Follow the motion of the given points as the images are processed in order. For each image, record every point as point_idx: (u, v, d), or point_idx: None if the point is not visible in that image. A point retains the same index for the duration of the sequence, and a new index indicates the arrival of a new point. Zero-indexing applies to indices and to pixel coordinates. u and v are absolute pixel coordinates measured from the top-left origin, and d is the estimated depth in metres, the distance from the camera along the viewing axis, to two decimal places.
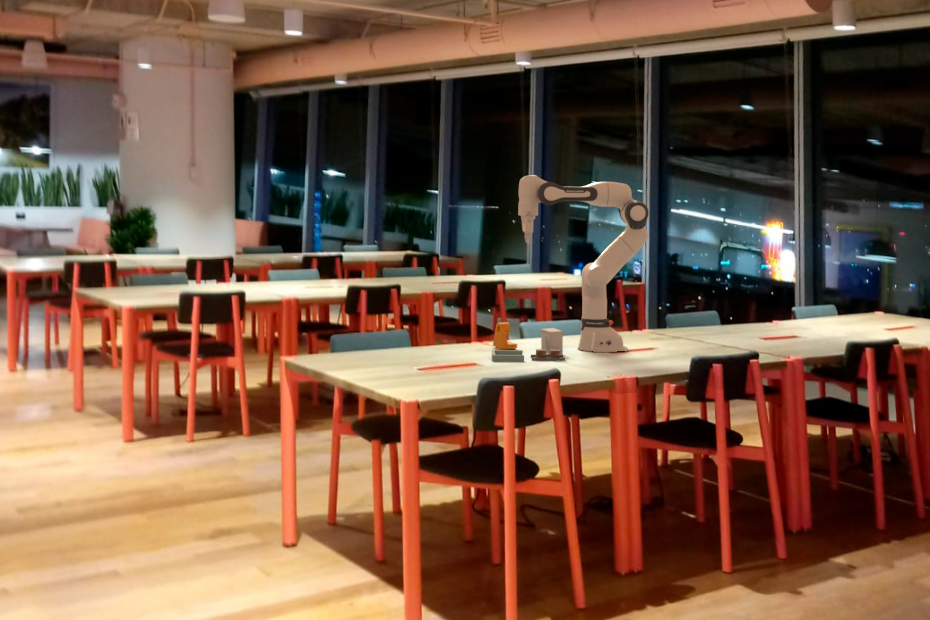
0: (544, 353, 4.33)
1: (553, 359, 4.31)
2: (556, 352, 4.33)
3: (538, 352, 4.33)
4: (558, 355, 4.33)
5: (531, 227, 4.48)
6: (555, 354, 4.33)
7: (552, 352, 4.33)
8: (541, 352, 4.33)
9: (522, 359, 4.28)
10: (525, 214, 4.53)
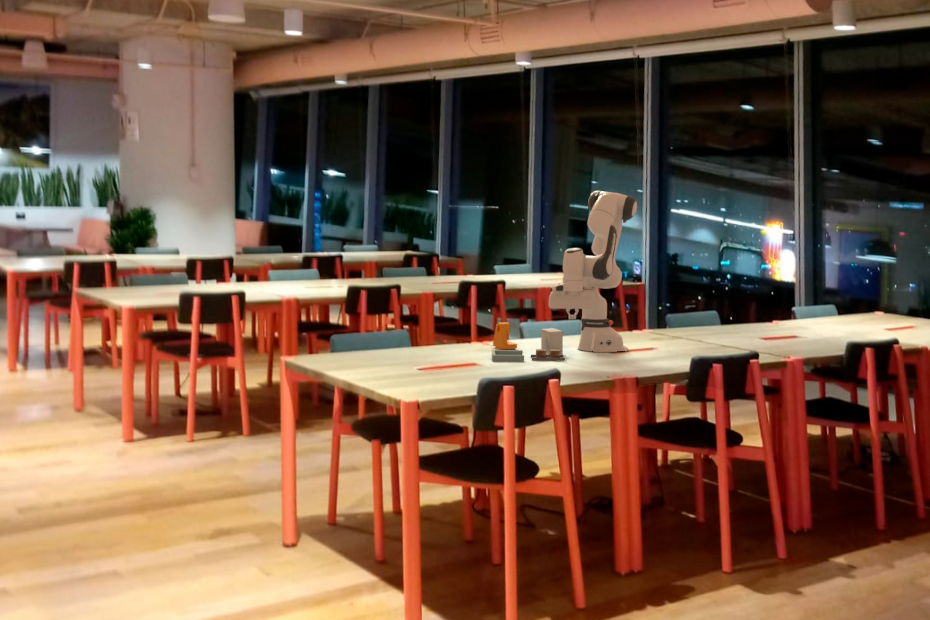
0: (544, 353, 4.33)
1: (553, 359, 4.31)
2: (556, 352, 4.33)
3: (538, 352, 4.33)
4: (558, 355, 4.33)
5: None
6: (555, 354, 4.33)
7: (552, 352, 4.33)
8: (541, 352, 4.33)
9: (522, 359, 4.28)
10: (582, 289, 4.31)
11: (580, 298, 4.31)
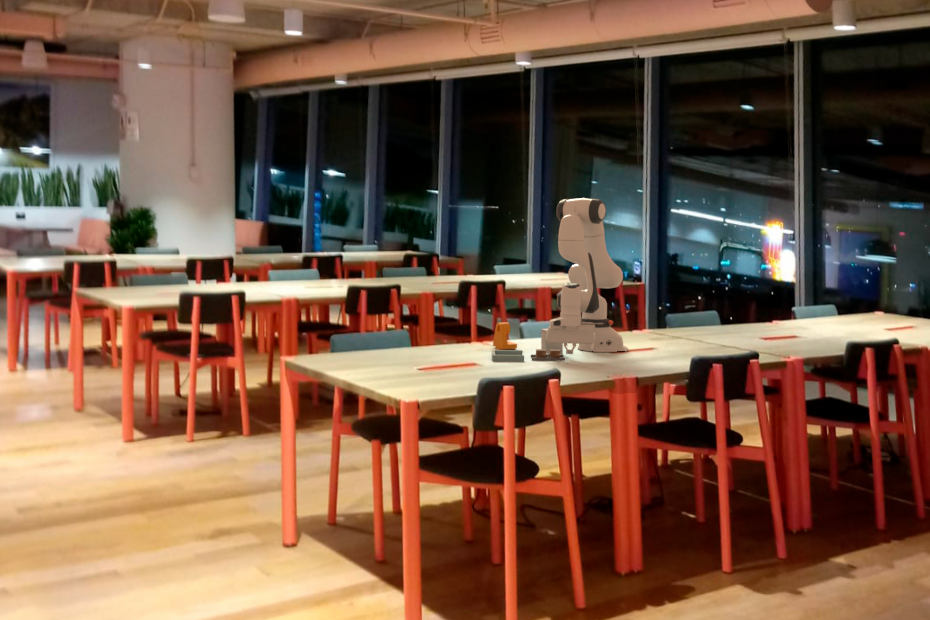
0: (544, 353, 4.33)
1: (553, 359, 4.31)
2: (556, 352, 4.33)
3: (538, 352, 4.33)
4: (558, 355, 4.33)
5: None
6: (555, 354, 4.33)
7: (552, 352, 4.33)
8: (541, 352, 4.33)
9: (522, 359, 4.28)
10: (580, 324, 4.32)
11: (577, 332, 4.32)
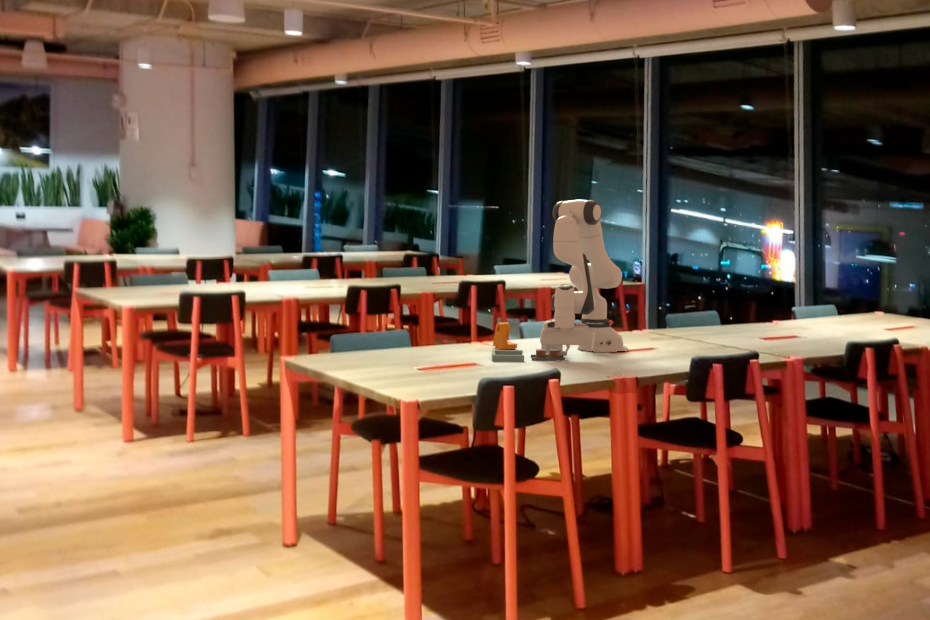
0: (544, 353, 4.33)
1: (553, 359, 4.31)
2: (556, 352, 4.33)
3: (538, 352, 4.33)
4: (558, 355, 4.33)
5: None
6: (555, 354, 4.33)
7: (552, 352, 4.33)
8: (541, 352, 4.33)
9: (522, 359, 4.28)
10: (574, 326, 4.32)
11: (571, 334, 4.32)
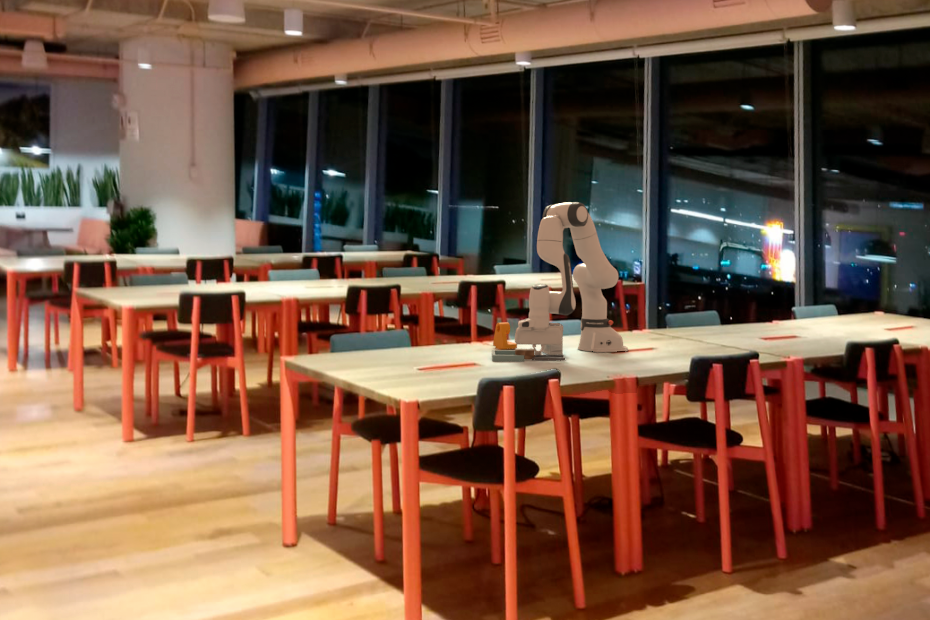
0: (523, 353, 4.33)
1: (553, 359, 4.31)
2: (530, 351, 4.33)
3: (517, 352, 4.33)
4: (532, 354, 4.33)
5: None
6: (529, 353, 4.33)
7: (526, 351, 4.33)
8: (520, 352, 4.33)
9: (522, 359, 4.28)
10: (548, 325, 4.32)
11: (546, 334, 4.32)
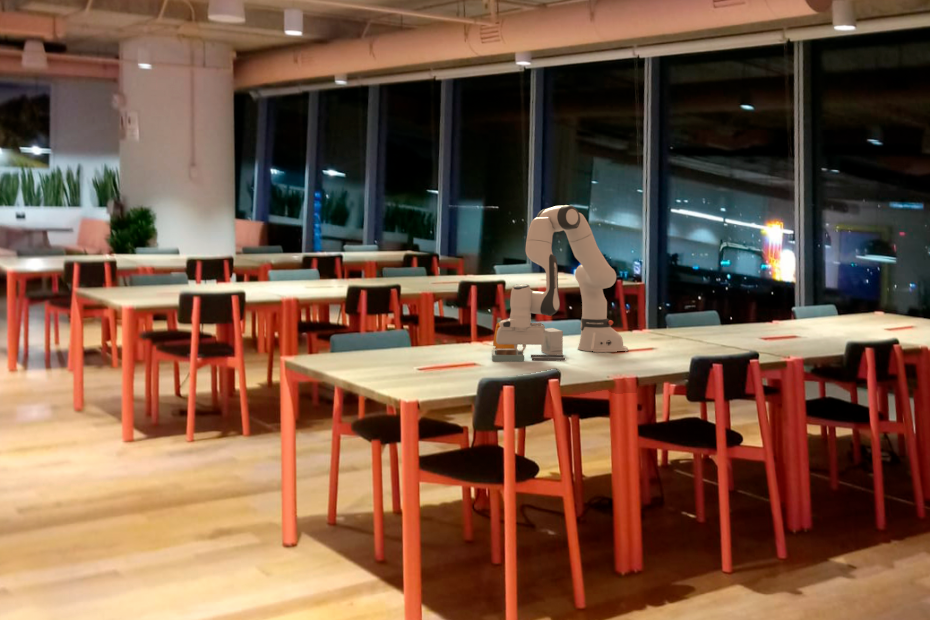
0: (504, 352, 4.33)
1: (553, 359, 4.31)
2: (512, 351, 4.33)
3: (498, 351, 4.33)
4: (514, 354, 4.33)
5: None
6: (511, 353, 4.33)
7: (508, 351, 4.33)
8: (501, 351, 4.33)
9: (522, 359, 4.28)
10: (530, 325, 4.32)
11: (527, 334, 4.32)
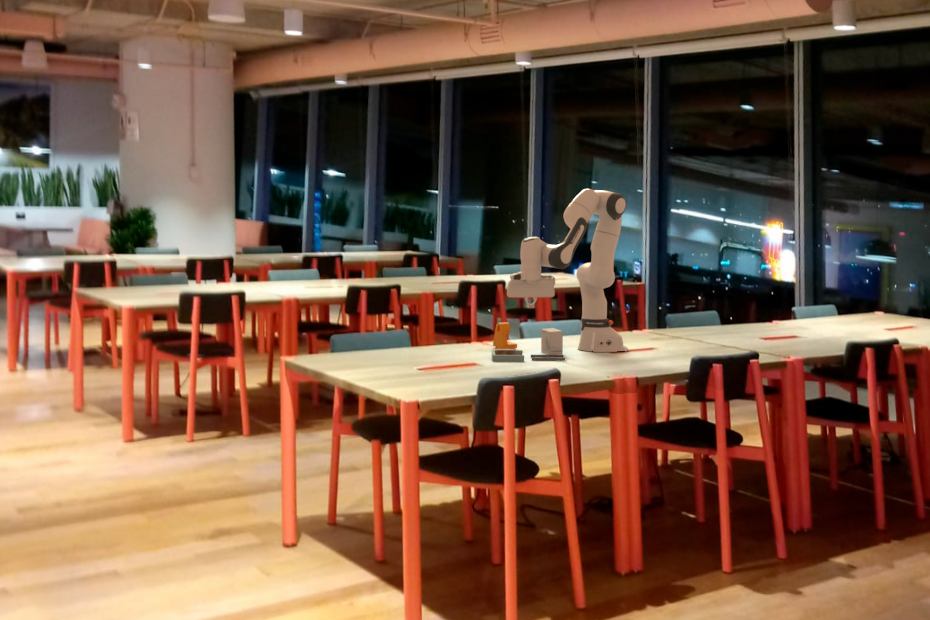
0: (504, 353, 4.33)
1: (553, 359, 4.31)
2: (511, 351, 4.33)
3: (498, 352, 4.33)
4: (513, 354, 4.33)
5: None
6: (510, 353, 4.33)
7: (507, 351, 4.33)
8: (501, 352, 4.33)
9: (522, 359, 4.28)
10: (540, 278, 4.32)
11: (538, 286, 4.32)
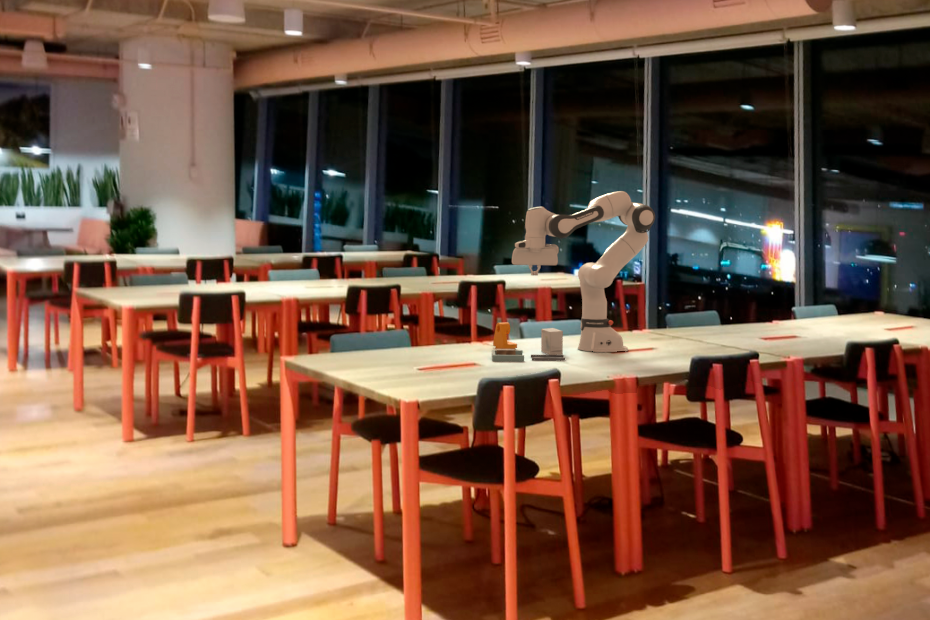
0: (504, 353, 4.33)
1: (553, 359, 4.31)
2: (511, 351, 4.33)
3: (498, 352, 4.33)
4: (513, 354, 4.33)
5: None
6: (510, 353, 4.33)
7: (507, 351, 4.33)
8: (501, 352, 4.33)
9: (522, 359, 4.28)
10: (544, 246, 4.47)
11: (542, 254, 4.48)
